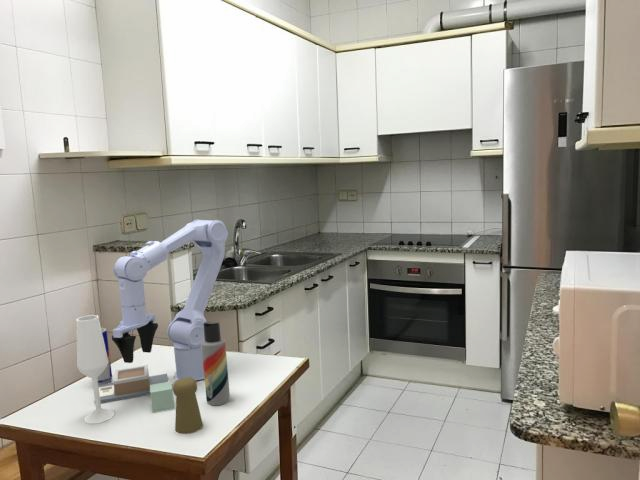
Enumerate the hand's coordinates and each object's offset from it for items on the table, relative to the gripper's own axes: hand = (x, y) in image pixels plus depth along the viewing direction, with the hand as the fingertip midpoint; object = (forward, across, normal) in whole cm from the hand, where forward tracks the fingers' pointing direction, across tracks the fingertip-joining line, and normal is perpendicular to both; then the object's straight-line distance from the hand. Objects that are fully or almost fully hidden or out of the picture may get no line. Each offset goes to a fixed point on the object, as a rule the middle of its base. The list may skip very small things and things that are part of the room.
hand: (138, 357), depth 136 cm
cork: (+11, +12, +21) cm, 27 cm away
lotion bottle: (+10, -1, +21) cm, 24 cm away
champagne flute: (+11, +12, -3) cm, 16 cm away
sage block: (+11, +4, +9) cm, 14 cm away
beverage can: (+11, -6, -17) cm, 21 cm away
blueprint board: (+10, -4, -5) cm, 12 cm away
